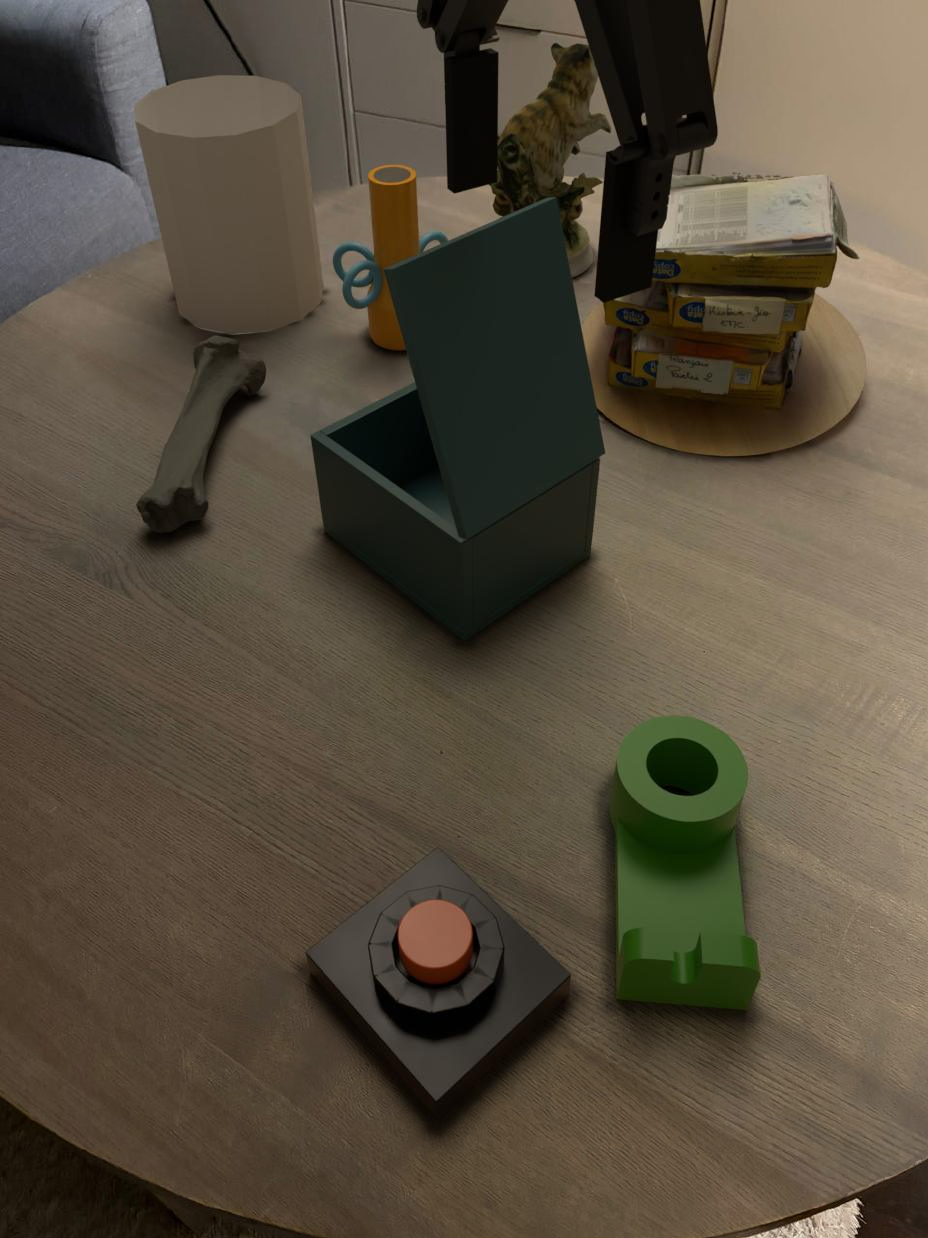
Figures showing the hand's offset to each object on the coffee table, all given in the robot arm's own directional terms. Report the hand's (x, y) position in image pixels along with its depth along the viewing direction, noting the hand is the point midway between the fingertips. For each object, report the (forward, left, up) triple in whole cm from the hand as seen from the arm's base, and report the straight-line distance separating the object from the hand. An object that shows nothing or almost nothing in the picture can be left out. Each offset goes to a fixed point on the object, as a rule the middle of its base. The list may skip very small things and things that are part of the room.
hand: (541, 235), depth 52 cm
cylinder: (+34, -18, -28) cm, 47 cm away
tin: (+9, -2, -27) cm, 29 cm away
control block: (-16, +22, -27) cm, 38 cm away
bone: (+31, +5, -28) cm, 42 cm away
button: (-16, +22, -24) cm, 36 cm away
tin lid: (+4, -2, -11) cm, 11 cm away
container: (+50, -12, -28) cm, 58 cm away
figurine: (+36, -38, -28) cm, 59 cm away
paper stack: (+10, -34, -28) cm, 45 cm away
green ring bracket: (-20, +8, -28) cm, 35 cm away
